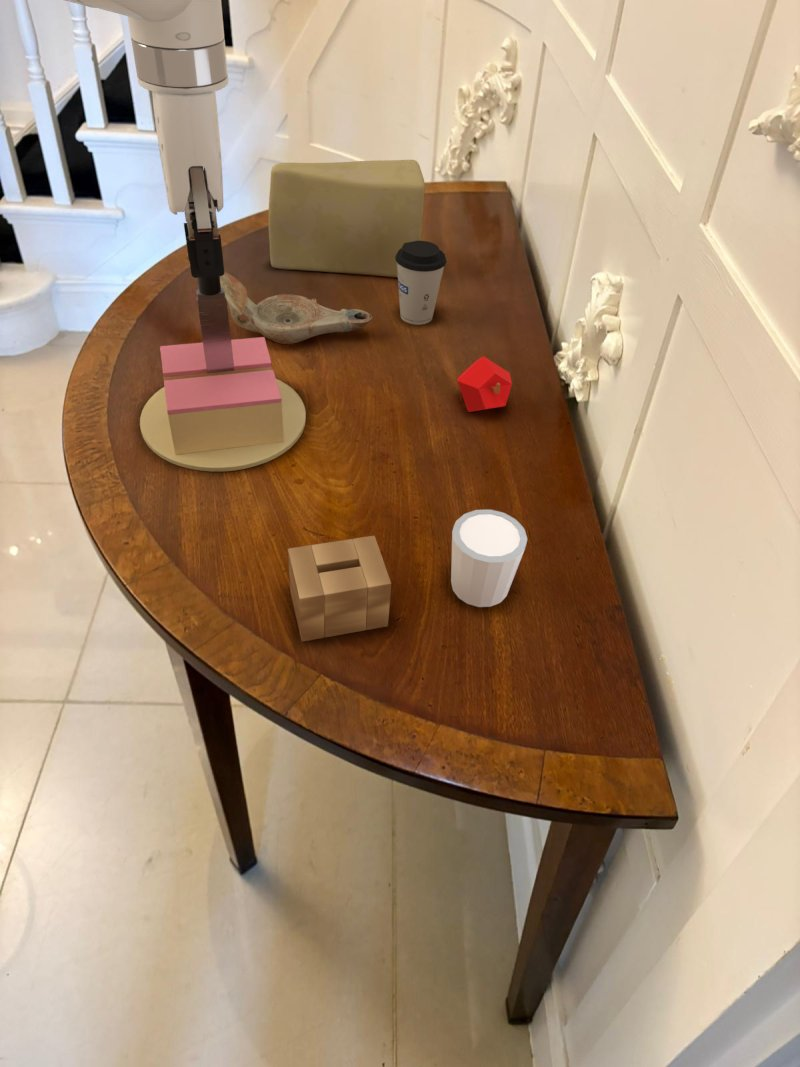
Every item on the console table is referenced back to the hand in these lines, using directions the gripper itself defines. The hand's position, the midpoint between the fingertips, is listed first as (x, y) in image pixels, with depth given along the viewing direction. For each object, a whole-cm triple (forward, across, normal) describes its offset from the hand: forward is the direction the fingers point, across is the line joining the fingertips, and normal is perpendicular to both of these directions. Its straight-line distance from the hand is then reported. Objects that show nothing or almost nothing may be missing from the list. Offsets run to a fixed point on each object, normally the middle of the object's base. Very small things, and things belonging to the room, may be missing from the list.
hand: (206, 267), depth 79 cm
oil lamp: (+19, -17, +11) cm, 28 cm away
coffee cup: (+19, -19, +29) cm, 39 cm away
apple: (+19, +3, +31) cm, 36 cm away
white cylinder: (+19, +31, +21) cm, 42 cm away
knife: (+12, 0, 0) cm, 12 cm away
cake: (+19, 0, 0) cm, 19 cm away
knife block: (+19, +31, +7) cm, 37 cm away
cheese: (+19, -35, +22) cm, 45 cm away
